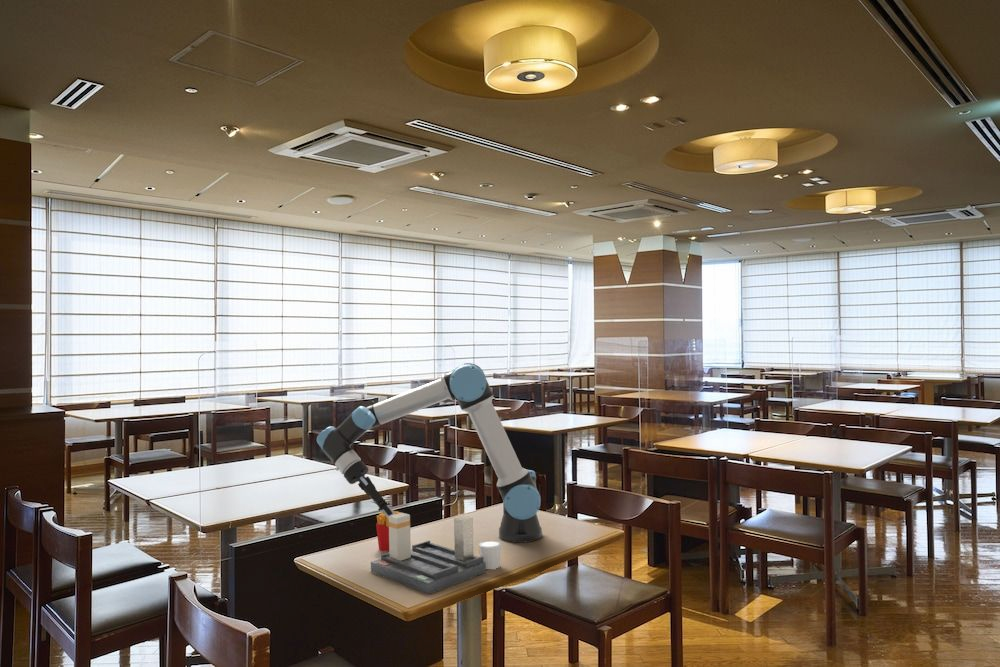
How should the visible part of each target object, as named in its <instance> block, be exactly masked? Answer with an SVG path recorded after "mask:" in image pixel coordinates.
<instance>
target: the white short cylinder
mask: <svg viewBox="0 0 1000 667" xmlns="http://www.w3.org/2000/svg"><path fill="white" fill-rule="evenodd" d="M478 548H479V550H478V551H479V557H481V556H482V557H483V562H486V569H495V570H497V569H496V568H498V567H499V568H500V567H501V554H502V553H501V552H502V551H501V550H502V543H501V542H500V541H497V540H486V541H485V540H484V541H482V542H479V544H478ZM499 568H498V569H499Z"/></svg>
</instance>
